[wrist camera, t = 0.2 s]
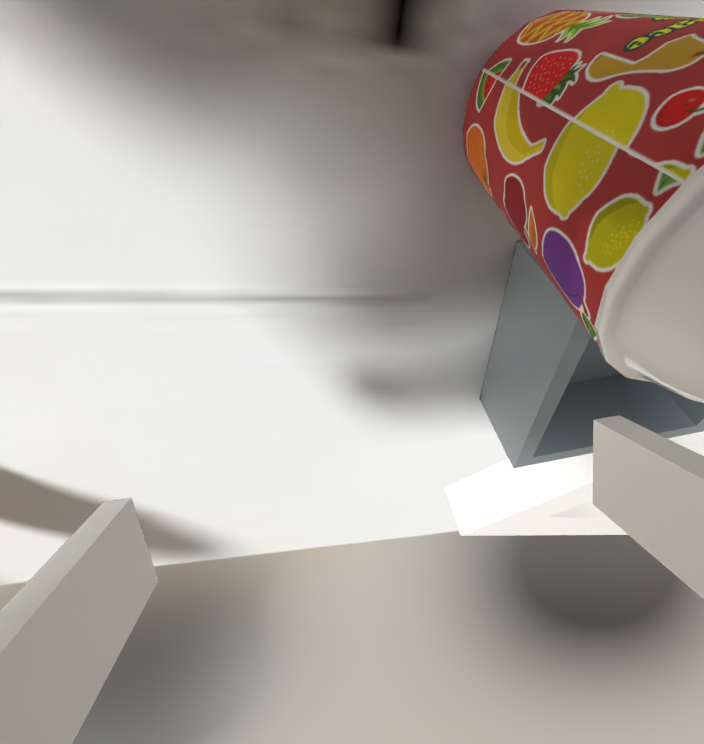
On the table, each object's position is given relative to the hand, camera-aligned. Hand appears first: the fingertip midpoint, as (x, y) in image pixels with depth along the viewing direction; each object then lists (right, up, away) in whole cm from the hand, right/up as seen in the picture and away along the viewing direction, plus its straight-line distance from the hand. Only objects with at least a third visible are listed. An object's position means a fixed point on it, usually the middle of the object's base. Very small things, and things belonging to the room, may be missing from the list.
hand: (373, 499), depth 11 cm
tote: (+18, +8, +19) cm, 27 cm away
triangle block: (+23, -7, +37) cm, 45 cm away
